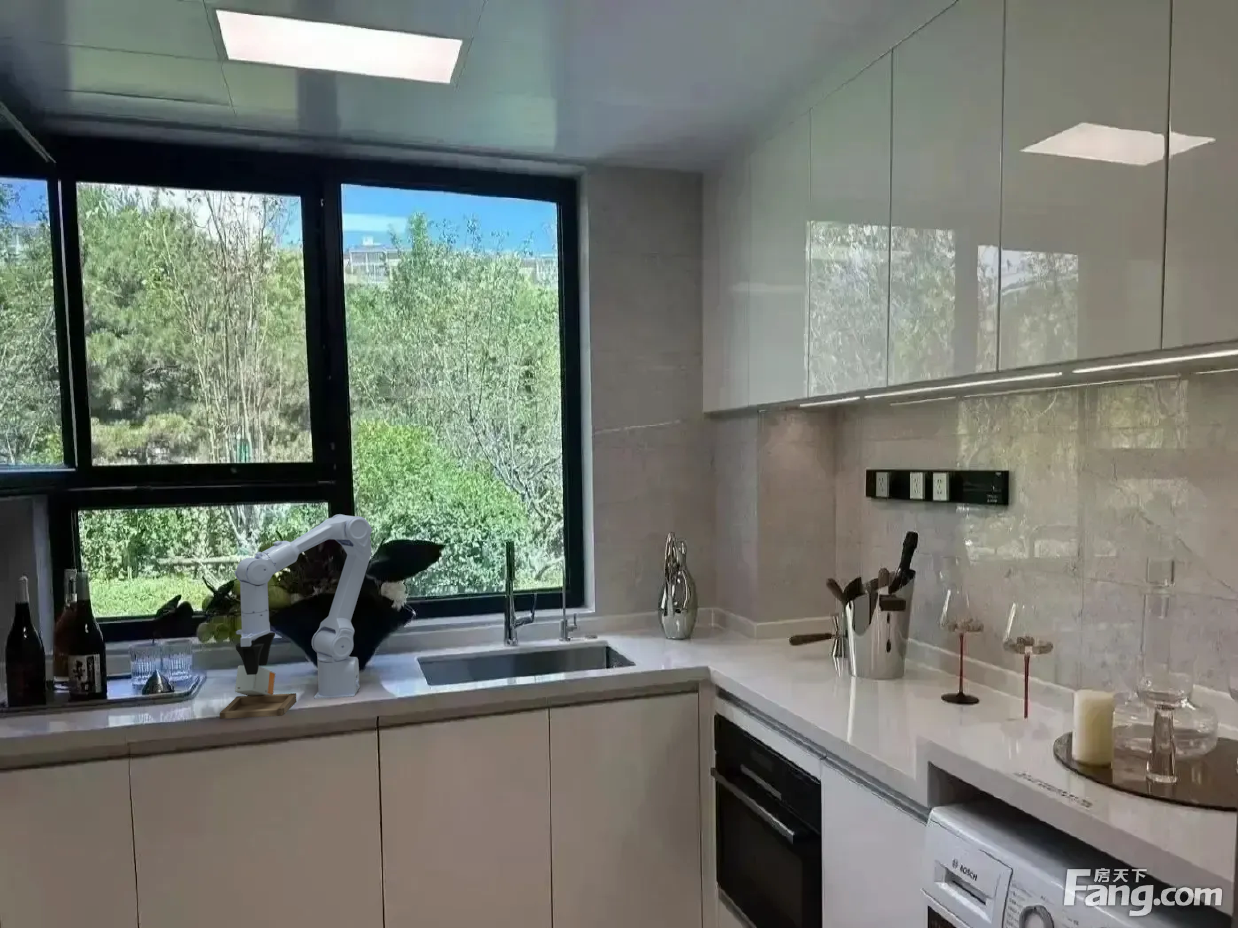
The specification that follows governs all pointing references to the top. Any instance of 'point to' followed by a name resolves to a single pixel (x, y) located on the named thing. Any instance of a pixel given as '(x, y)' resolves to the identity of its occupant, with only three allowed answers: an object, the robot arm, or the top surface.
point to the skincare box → (255, 682)
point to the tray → (259, 706)
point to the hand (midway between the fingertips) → (257, 669)
